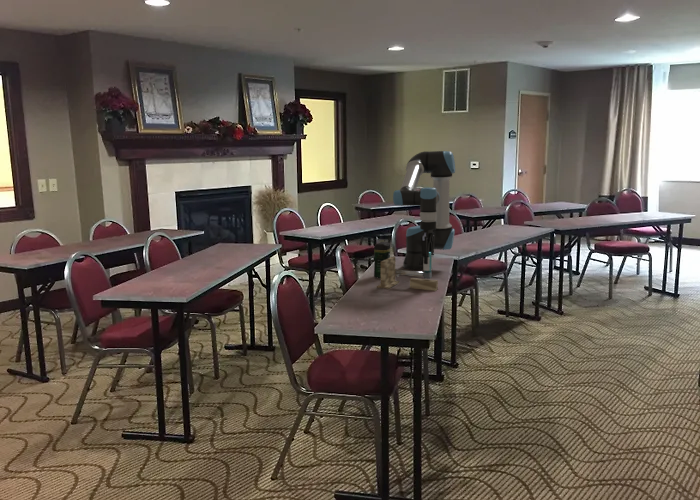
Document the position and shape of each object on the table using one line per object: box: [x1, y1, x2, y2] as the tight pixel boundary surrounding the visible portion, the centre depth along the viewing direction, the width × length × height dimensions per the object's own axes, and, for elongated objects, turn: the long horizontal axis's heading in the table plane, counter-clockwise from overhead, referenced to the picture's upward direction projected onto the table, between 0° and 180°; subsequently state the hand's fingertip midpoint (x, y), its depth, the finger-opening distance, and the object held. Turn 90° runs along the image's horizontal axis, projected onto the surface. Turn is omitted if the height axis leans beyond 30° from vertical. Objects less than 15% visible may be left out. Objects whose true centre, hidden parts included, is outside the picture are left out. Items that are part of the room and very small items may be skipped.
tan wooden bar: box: [409, 277, 439, 292], centre depth 279 cm, size 3×13×4 cm, turn 63°
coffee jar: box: [373, 241, 391, 279], centre depth 304 cm, size 10×8×19 cm
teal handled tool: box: [395, 252, 433, 280], centre depth 280 cm, size 3×18×13 cm, turn 63°
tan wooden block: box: [376, 256, 400, 290], centre depth 286 cm, size 14×6×13 cm, turn 153°
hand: (427, 269), depth 277 cm, fingers closed on teal handled tool, 3 cm apart
